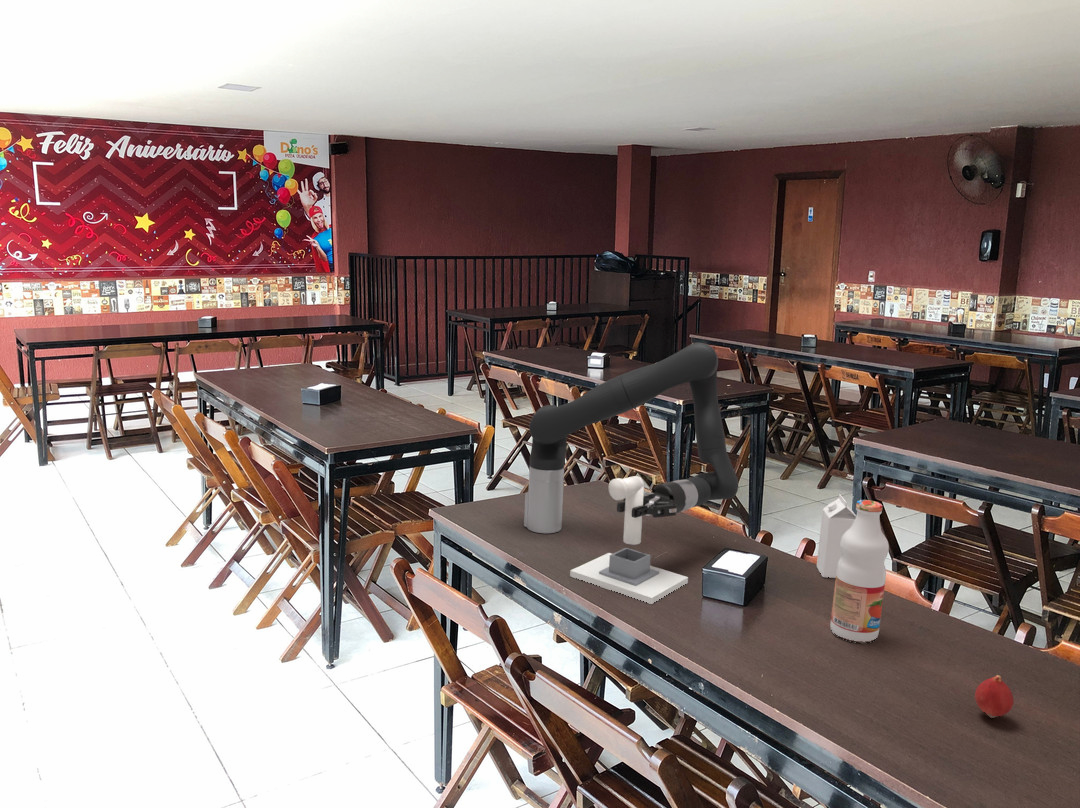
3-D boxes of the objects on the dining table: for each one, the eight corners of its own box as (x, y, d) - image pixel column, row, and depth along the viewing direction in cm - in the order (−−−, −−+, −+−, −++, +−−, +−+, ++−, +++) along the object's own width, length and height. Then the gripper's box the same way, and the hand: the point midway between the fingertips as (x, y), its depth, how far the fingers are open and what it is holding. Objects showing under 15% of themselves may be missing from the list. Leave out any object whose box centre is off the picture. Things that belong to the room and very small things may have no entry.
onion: (965, 708, 152) (971, 666, 150) (996, 708, 152) (1003, 666, 151) (984, 727, 146) (991, 683, 144) (1017, 727, 146) (1024, 683, 145)
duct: (569, 576, 202) (571, 551, 201) (608, 558, 214) (610, 534, 213) (651, 604, 189) (653, 577, 188) (687, 583, 201) (689, 558, 200)
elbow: (630, 536, 203) (633, 470, 200) (645, 542, 199) (649, 475, 196) (605, 544, 197) (609, 476, 194) (621, 550, 194) (624, 481, 191)
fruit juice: (828, 620, 185) (843, 493, 179) (875, 627, 182) (892, 499, 177) (830, 639, 176) (846, 507, 170) (880, 647, 173) (897, 513, 168)
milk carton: (845, 569, 214) (854, 495, 211) (852, 580, 207) (862, 503, 204) (816, 566, 215) (824, 492, 211) (822, 577, 208) (831, 501, 204)
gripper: (652, 475, 212) (603, 487, 201) (699, 489, 202) (650, 502, 190) (651, 504, 213) (602, 518, 202) (697, 520, 203) (648, 535, 192)
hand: (625, 510), depth 196 cm, fingers closed on elbow, 4 cm apart
